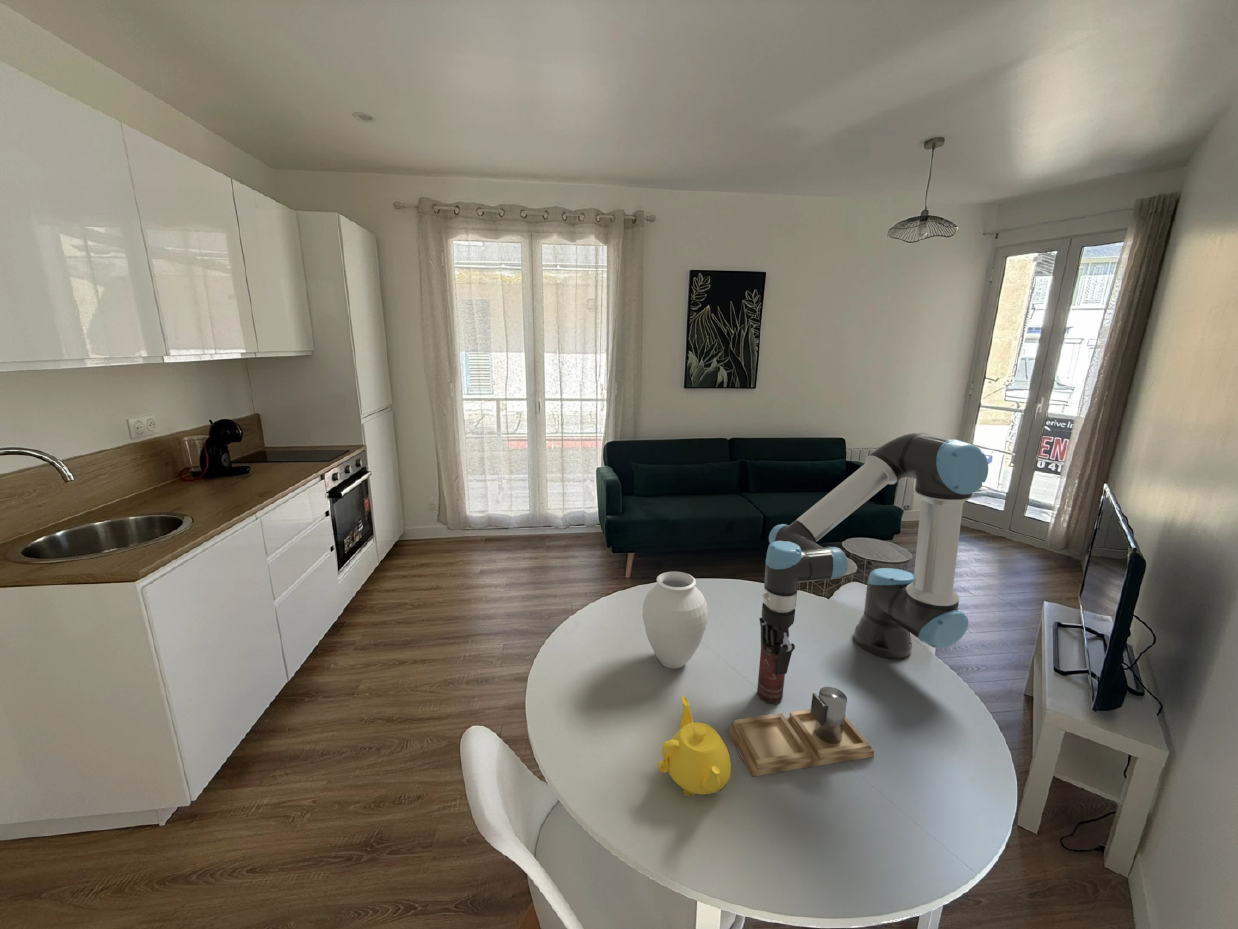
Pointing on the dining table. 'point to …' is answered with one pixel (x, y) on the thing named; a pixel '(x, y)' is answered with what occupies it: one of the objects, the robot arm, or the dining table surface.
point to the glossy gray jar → (829, 714)
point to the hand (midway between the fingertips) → (770, 689)
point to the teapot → (696, 757)
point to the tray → (793, 743)
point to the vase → (675, 618)
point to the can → (769, 677)
